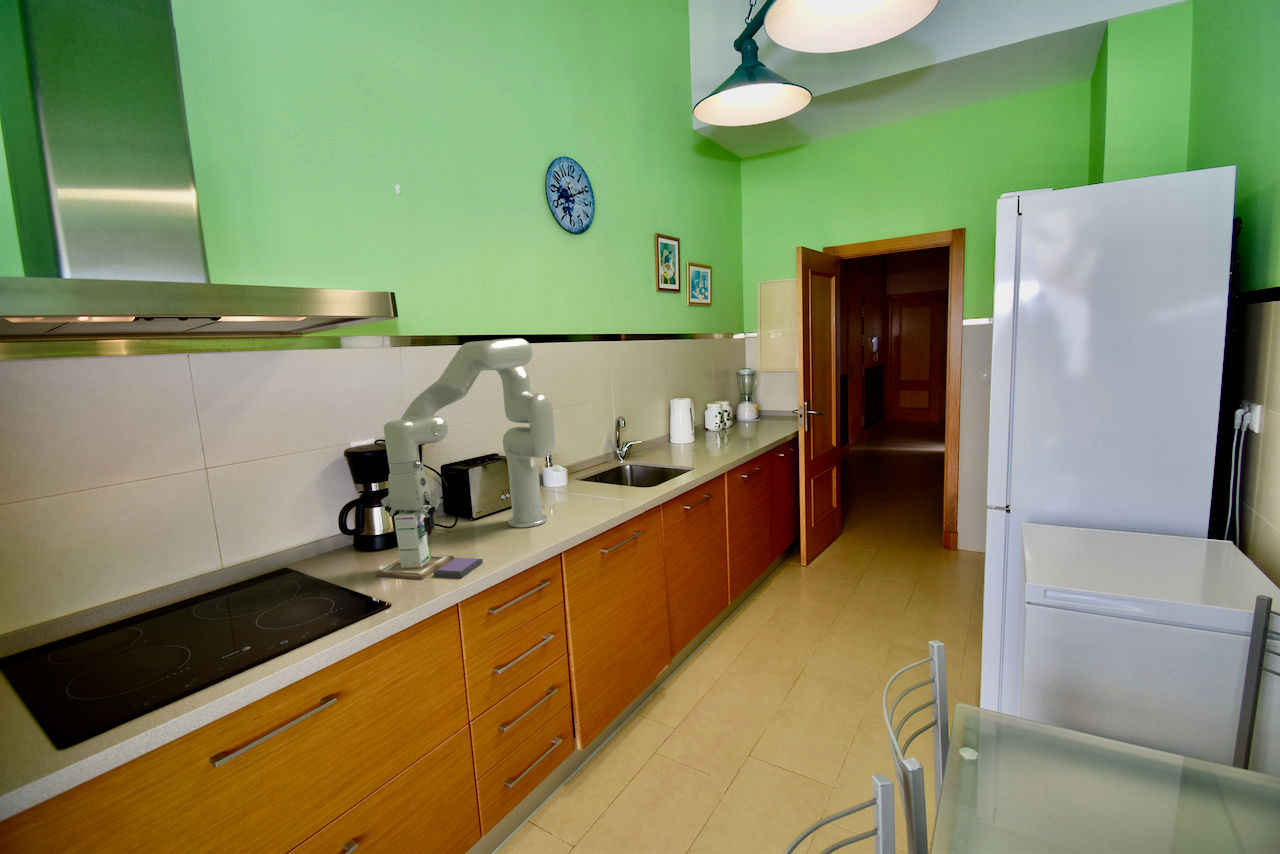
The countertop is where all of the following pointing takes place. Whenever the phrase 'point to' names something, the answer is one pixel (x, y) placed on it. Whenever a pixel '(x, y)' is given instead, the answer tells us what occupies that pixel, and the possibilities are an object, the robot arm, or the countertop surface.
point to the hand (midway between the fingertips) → (414, 530)
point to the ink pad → (458, 567)
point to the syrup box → (412, 539)
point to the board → (415, 573)
